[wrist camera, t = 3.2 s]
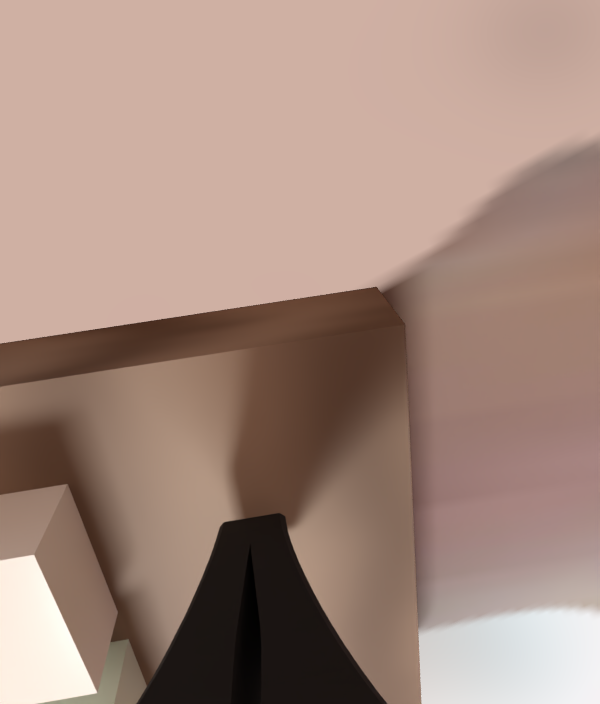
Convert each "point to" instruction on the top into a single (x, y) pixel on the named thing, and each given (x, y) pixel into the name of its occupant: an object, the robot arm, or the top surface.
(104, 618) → the cream tile
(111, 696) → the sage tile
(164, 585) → the plate
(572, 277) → the top surface
